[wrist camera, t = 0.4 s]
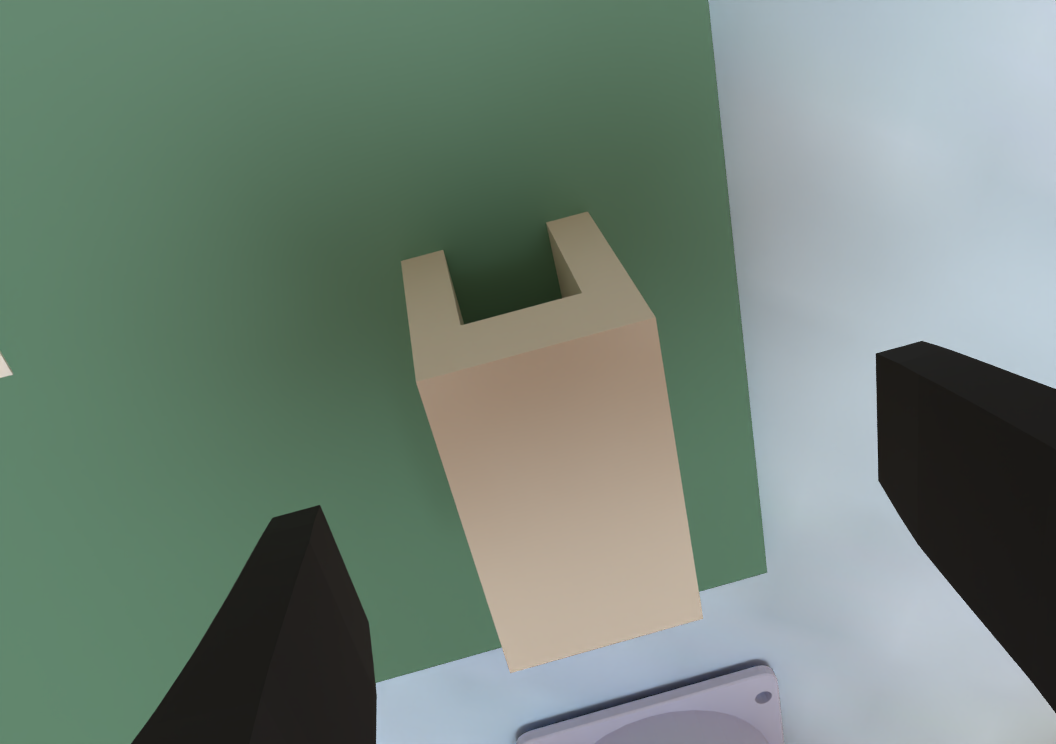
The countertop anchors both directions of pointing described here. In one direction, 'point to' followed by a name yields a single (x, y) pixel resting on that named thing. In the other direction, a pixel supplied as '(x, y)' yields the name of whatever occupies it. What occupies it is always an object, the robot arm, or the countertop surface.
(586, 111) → the header board
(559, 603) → the beige u-shaped channel block
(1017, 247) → the countertop surface
